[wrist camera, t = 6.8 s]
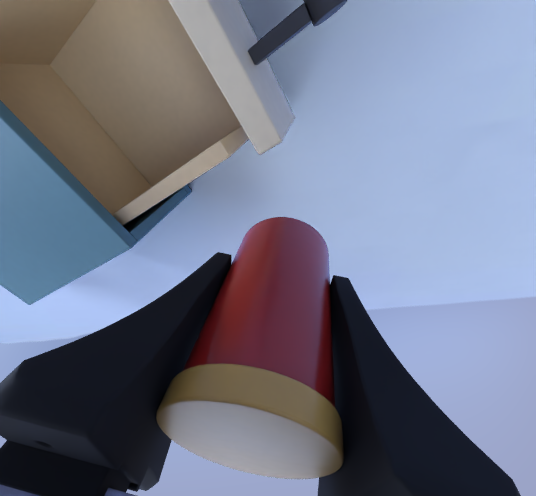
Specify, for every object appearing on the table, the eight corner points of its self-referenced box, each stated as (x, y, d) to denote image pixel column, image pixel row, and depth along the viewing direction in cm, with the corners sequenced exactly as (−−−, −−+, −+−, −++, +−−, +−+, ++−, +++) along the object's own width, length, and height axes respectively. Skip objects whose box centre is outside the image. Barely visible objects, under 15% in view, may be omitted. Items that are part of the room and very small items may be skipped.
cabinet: (59, 16, 15) (-143, -26, 9) (192, 191, 21) (131, 248, 14) (-18, 132, 21) (-177, 160, 14) (103, 246, 27) (29, 305, 20)
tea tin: (237, 279, 14) (167, 452, 8) (241, 205, 11) (137, 378, 5) (319, 296, 14) (317, 491, 7) (343, 223, 11) (376, 436, 5)
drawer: (245, -257, 9) (134, -741, 4) (360, 76, 14) (385, 79, 9) (39, 50, 16) (-104, 39, 11) (165, 200, 21) (110, 245, 16)
